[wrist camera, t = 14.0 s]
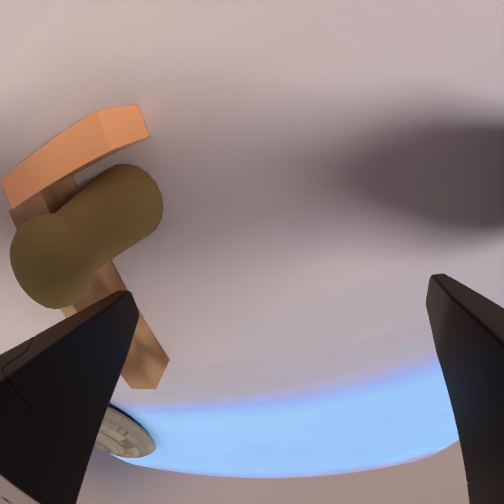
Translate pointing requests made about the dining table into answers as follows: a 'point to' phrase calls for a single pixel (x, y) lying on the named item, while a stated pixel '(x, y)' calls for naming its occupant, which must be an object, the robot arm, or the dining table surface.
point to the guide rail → (64, 189)
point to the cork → (84, 235)
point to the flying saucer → (123, 436)
